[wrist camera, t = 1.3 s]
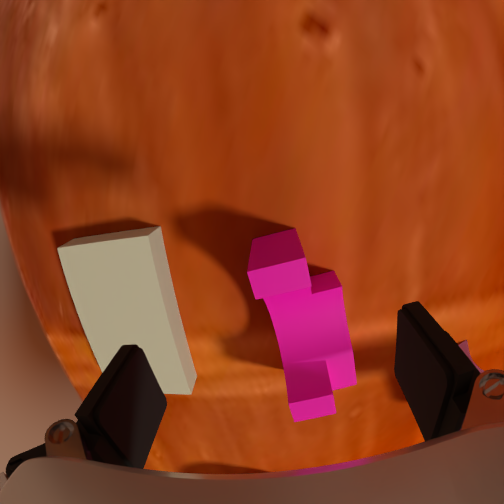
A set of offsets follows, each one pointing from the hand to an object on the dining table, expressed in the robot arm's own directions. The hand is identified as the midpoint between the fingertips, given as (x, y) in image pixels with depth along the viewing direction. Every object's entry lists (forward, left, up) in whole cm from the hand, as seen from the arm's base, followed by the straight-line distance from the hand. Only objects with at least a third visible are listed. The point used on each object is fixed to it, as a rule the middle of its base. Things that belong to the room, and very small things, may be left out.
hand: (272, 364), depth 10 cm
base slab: (+6, -15, -17) cm, 23 cm away
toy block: (+7, +2, -17) cm, 19 cm away
